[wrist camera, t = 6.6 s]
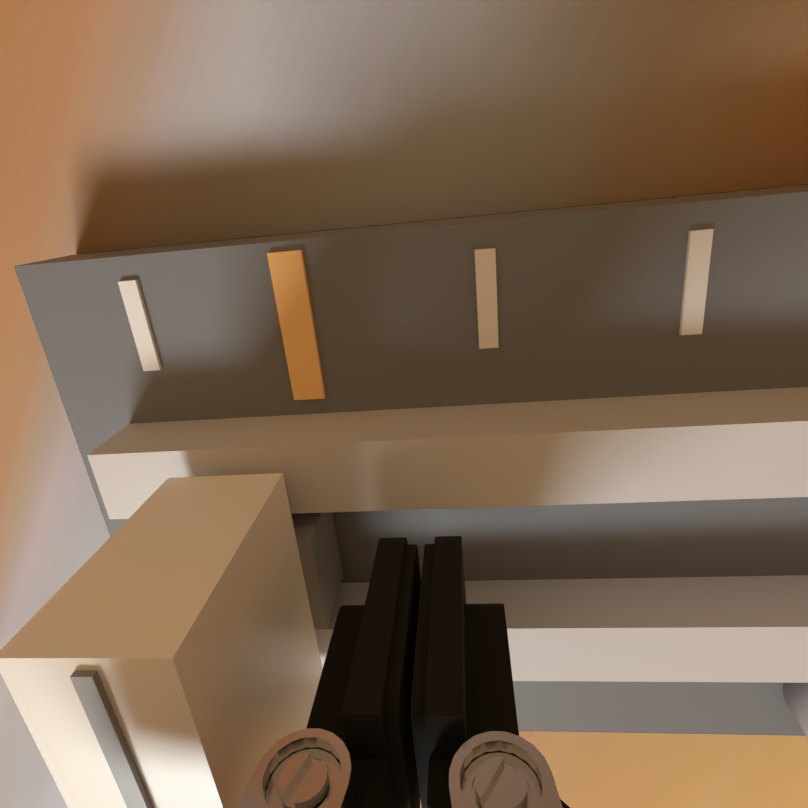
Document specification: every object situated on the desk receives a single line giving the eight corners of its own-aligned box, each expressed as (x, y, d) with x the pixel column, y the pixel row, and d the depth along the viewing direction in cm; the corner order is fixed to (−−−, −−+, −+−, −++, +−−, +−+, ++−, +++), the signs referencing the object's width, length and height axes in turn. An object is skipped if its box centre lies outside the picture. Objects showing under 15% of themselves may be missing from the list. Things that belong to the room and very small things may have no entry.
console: (1082, 158, 11) (1371, 147, 7) (909, 674, 16) (1032, 808, 13) (74, 254, 14) (-56, 280, 10) (204, 671, 19) (148, 781, 15)
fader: (318, 433, 12) (192, 665, 6) (351, 624, 14) (278, 931, 8) (193, 439, 13) (-35, 664, 7) (243, 625, 15) (100, 920, 9)
